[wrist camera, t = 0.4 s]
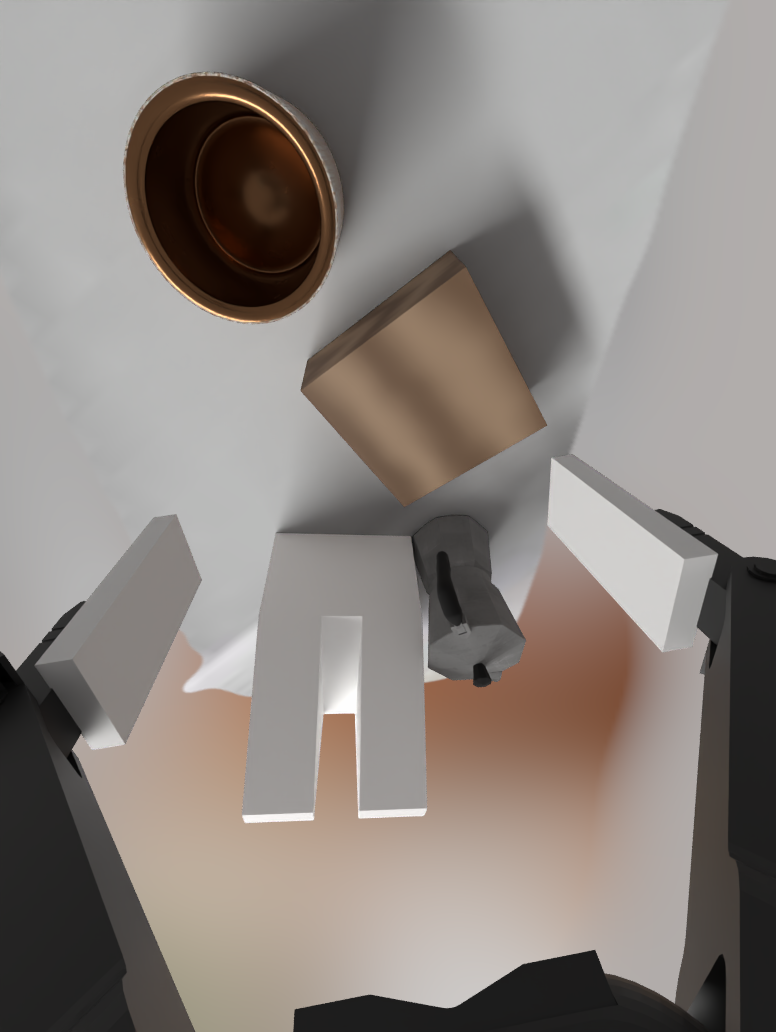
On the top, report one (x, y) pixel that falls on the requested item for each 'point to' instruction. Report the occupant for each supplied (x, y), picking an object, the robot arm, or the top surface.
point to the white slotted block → (338, 675)
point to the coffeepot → (464, 603)
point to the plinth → (423, 384)
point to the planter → (233, 196)
